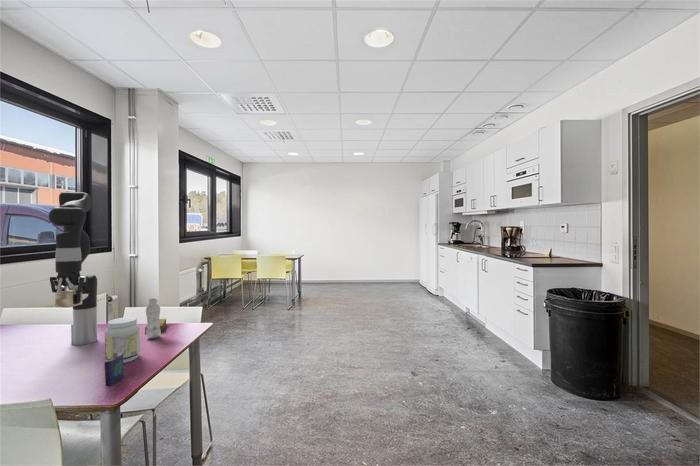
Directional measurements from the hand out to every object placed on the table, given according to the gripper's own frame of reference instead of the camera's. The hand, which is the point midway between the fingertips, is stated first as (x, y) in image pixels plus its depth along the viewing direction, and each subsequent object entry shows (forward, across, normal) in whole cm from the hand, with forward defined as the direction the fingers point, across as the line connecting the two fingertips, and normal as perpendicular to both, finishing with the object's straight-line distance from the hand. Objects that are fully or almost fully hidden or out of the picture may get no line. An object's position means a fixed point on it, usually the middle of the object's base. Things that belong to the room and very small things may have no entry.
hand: (69, 303), depth 123 cm
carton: (+28, -6, +56) cm, 63 cm away
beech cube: (+1, 0, 0) cm, 1 cm away
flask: (+28, +22, -4) cm, 36 cm away
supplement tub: (+28, +9, +15) cm, 33 cm away
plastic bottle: (+28, +3, +42) cm, 50 cm away
